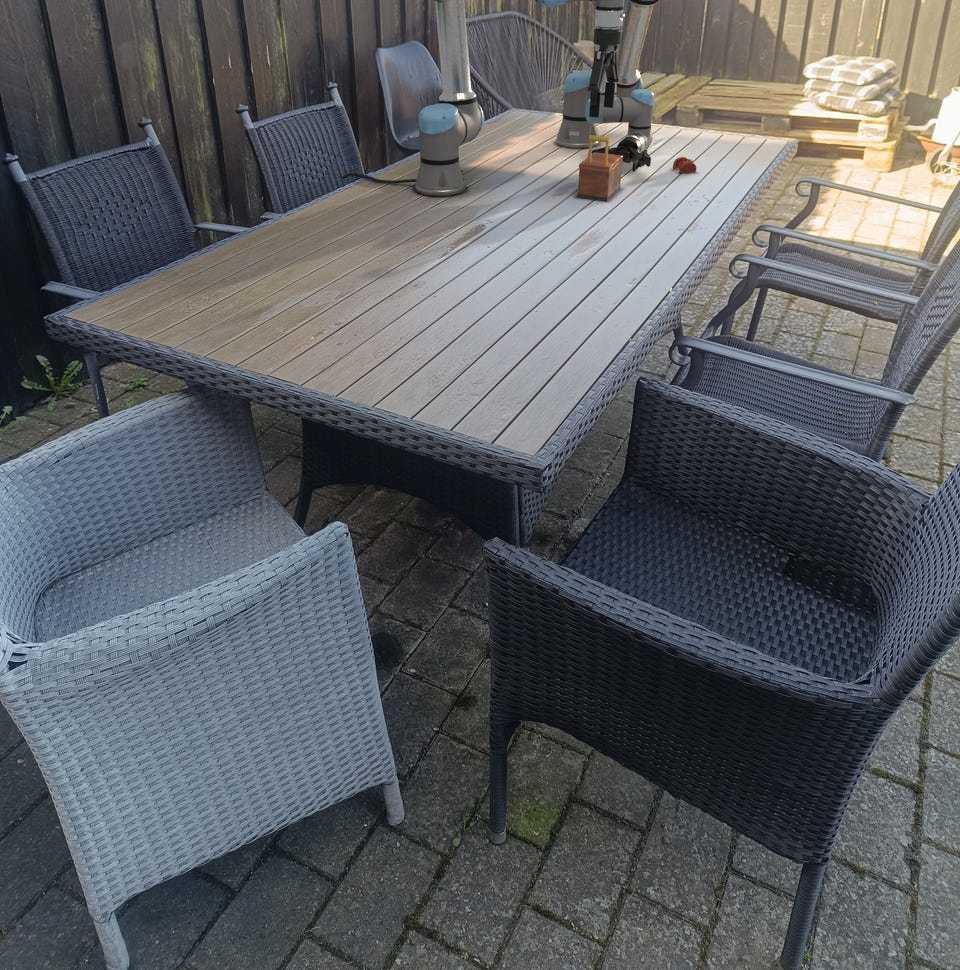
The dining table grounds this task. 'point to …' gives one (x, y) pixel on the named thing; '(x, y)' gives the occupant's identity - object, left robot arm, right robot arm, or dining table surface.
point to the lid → (600, 156)
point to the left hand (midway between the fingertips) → (601, 112)
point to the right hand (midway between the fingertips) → (612, 164)
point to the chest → (599, 183)
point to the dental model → (684, 165)
